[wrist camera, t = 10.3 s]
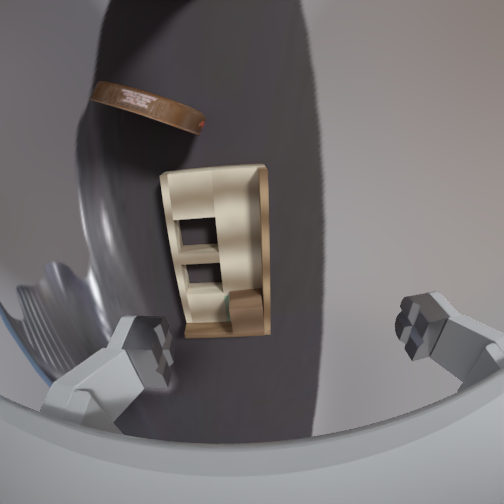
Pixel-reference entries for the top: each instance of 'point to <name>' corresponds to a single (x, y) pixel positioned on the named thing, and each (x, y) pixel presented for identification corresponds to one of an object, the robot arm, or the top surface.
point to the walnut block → (246, 311)
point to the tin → (149, 106)
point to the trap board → (220, 241)
